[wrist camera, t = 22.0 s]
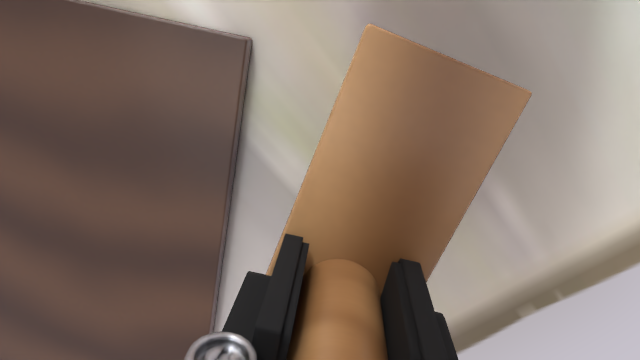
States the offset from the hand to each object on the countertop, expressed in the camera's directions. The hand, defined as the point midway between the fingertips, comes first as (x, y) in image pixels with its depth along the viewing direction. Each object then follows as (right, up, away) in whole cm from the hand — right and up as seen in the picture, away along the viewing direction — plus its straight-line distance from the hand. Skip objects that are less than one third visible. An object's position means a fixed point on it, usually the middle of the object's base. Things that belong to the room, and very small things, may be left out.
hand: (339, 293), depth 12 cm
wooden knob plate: (0, +1, +2) cm, 2 cm away
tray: (-14, +1, +10) cm, 18 cm away
